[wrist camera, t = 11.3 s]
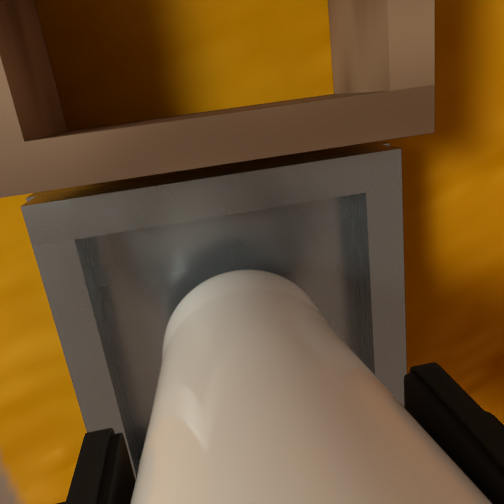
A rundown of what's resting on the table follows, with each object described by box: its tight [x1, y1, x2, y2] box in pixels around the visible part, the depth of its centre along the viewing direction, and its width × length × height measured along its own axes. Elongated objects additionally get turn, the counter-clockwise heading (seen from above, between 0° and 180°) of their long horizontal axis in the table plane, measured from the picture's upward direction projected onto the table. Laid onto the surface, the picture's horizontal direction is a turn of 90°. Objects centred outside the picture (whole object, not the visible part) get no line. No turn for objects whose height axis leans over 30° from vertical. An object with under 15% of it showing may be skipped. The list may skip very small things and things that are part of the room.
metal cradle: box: [21, 141, 407, 480], centre depth 17 cm, size 11×12×2 cm
